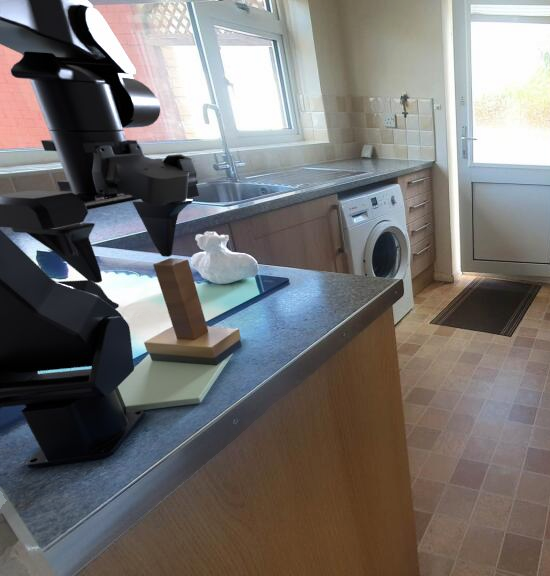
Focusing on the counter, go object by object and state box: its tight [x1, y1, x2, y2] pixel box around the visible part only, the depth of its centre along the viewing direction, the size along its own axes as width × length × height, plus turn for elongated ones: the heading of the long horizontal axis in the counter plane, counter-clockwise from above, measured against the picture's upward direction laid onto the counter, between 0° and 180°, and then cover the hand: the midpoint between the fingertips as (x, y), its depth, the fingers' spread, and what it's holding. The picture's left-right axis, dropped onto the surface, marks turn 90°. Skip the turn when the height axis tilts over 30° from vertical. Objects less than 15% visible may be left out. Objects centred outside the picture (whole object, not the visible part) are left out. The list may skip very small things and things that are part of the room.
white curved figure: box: [190, 230, 260, 285], centre depth 77 cm, size 12×8×11 cm
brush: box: [143, 257, 243, 365], centre depth 52 cm, size 5×9×13 cm, turn 86°
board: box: [118, 353, 234, 412], centre depth 51 cm, size 14×10×1 cm
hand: (134, 268), depth 49 cm, fingers open, 9 cm apart
